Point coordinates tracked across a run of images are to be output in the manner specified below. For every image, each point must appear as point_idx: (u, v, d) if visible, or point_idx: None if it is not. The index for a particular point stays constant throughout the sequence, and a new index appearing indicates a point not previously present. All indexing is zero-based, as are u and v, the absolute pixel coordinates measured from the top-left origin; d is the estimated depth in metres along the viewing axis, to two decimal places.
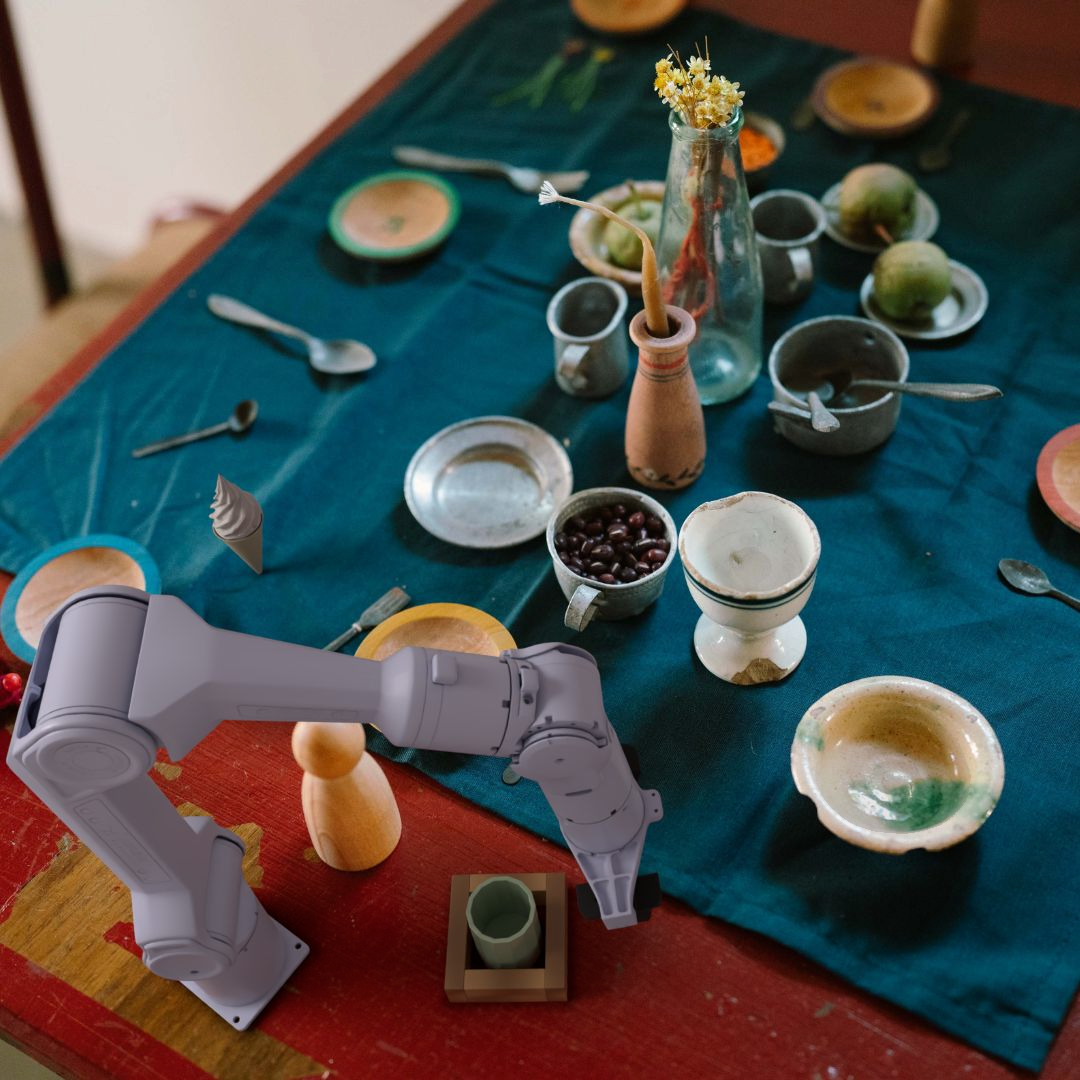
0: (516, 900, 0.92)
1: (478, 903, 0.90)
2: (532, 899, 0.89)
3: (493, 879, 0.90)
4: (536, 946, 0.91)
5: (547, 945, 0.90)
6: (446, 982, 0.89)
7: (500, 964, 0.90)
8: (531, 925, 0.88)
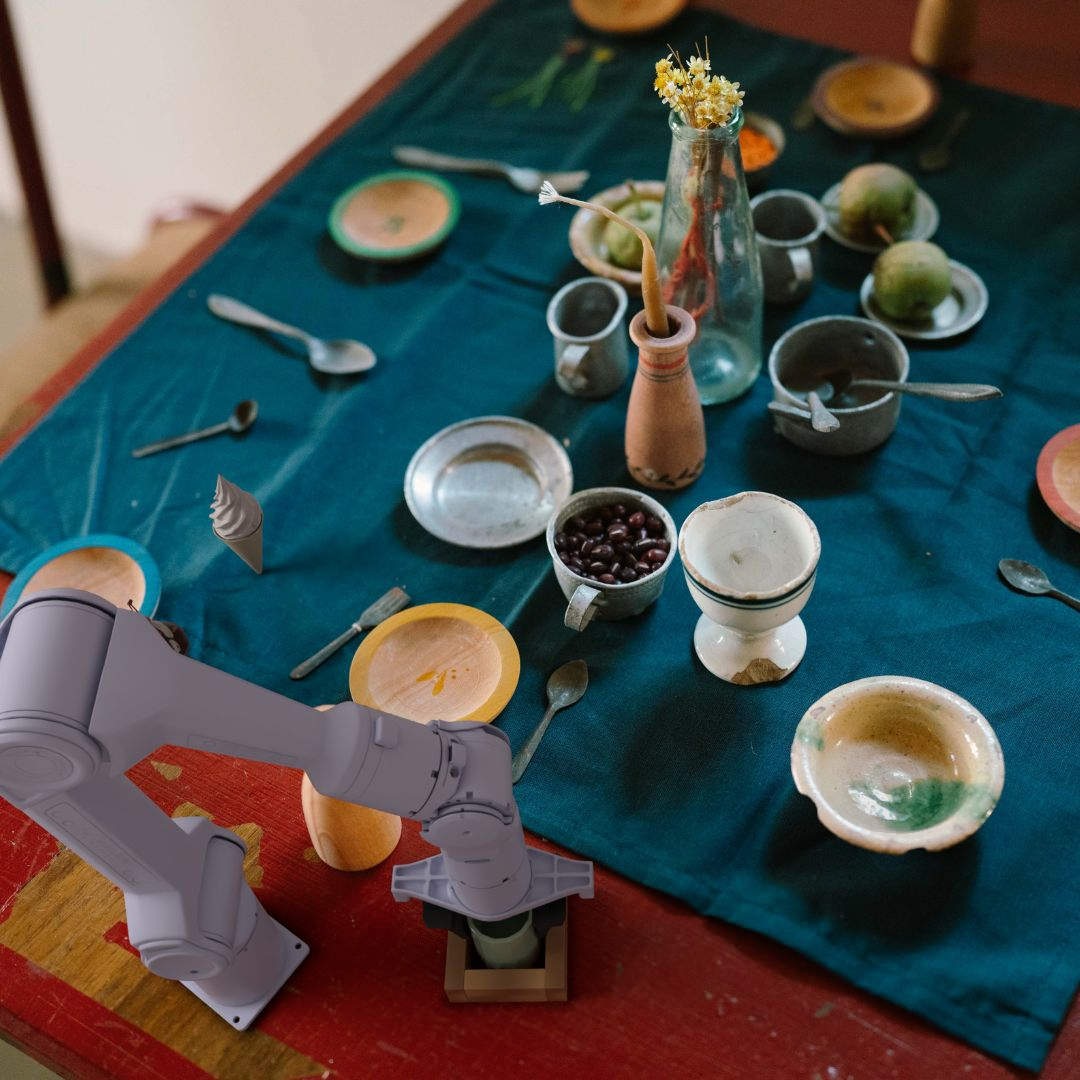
0: None
1: None
2: None
3: None
4: (535, 946, 0.91)
5: (547, 945, 0.90)
6: (446, 982, 0.89)
7: (499, 964, 0.90)
8: (530, 925, 0.88)
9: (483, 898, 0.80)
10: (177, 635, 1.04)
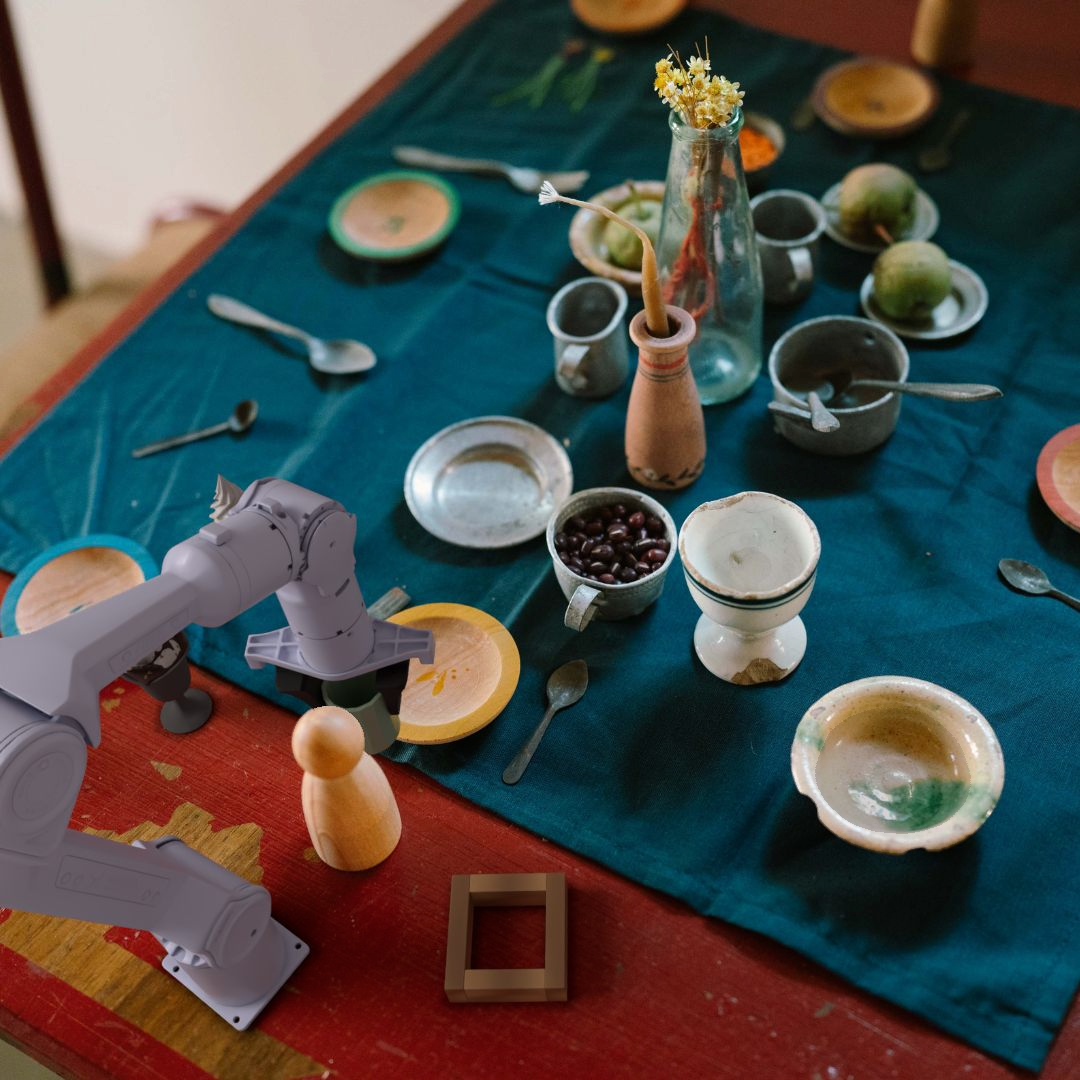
0: (374, 685, 0.98)
1: (336, 683, 0.97)
2: None
3: None
4: (390, 725, 0.97)
5: (547, 945, 0.90)
6: (446, 982, 0.89)
7: None
8: (381, 697, 0.94)
9: (322, 653, 0.86)
10: (177, 635, 1.04)
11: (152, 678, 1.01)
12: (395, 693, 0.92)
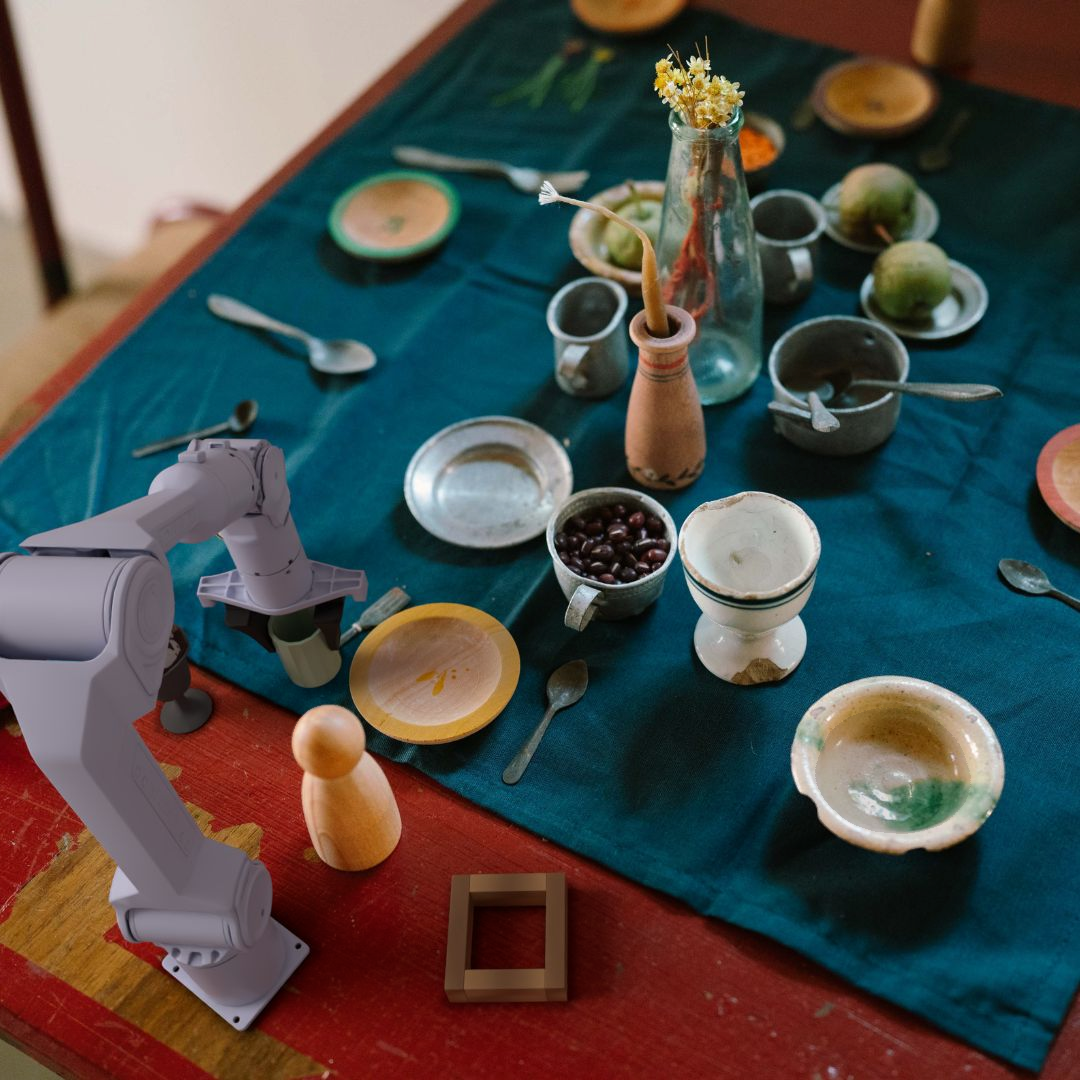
0: None
1: (281, 622, 1.07)
2: None
3: None
4: (331, 659, 1.08)
5: (547, 945, 0.90)
6: (446, 982, 0.89)
7: (299, 672, 1.07)
8: (320, 633, 1.05)
9: (264, 589, 0.97)
10: (177, 635, 1.04)
11: None
12: (332, 628, 1.03)
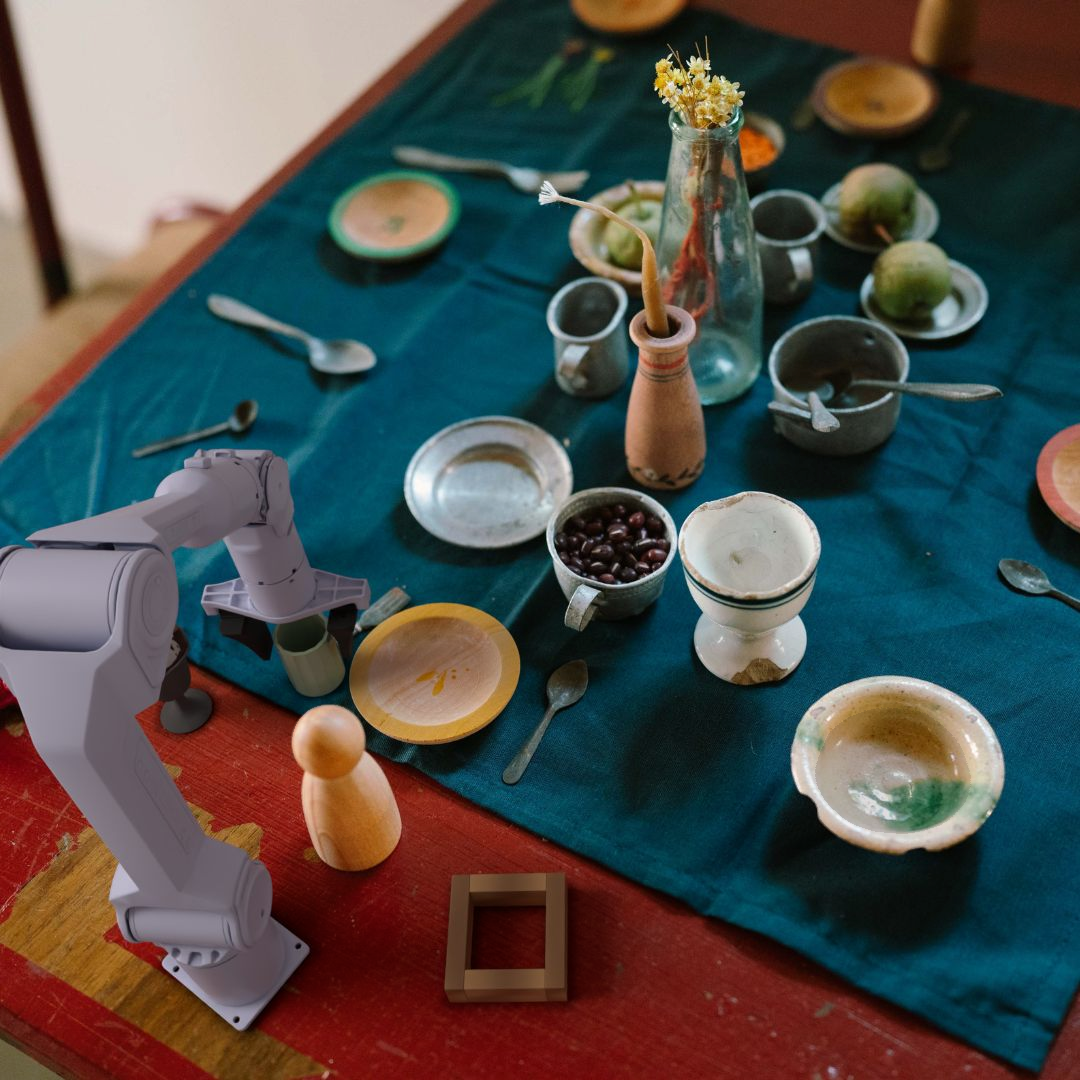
0: (321, 634, 1.11)
1: (286, 632, 1.09)
2: None
3: None
4: (335, 669, 1.09)
5: (547, 945, 0.90)
6: (446, 982, 0.89)
7: (303, 681, 1.08)
8: (325, 643, 1.06)
9: (268, 597, 0.98)
10: (177, 635, 1.04)
11: None
12: (346, 636, 1.03)
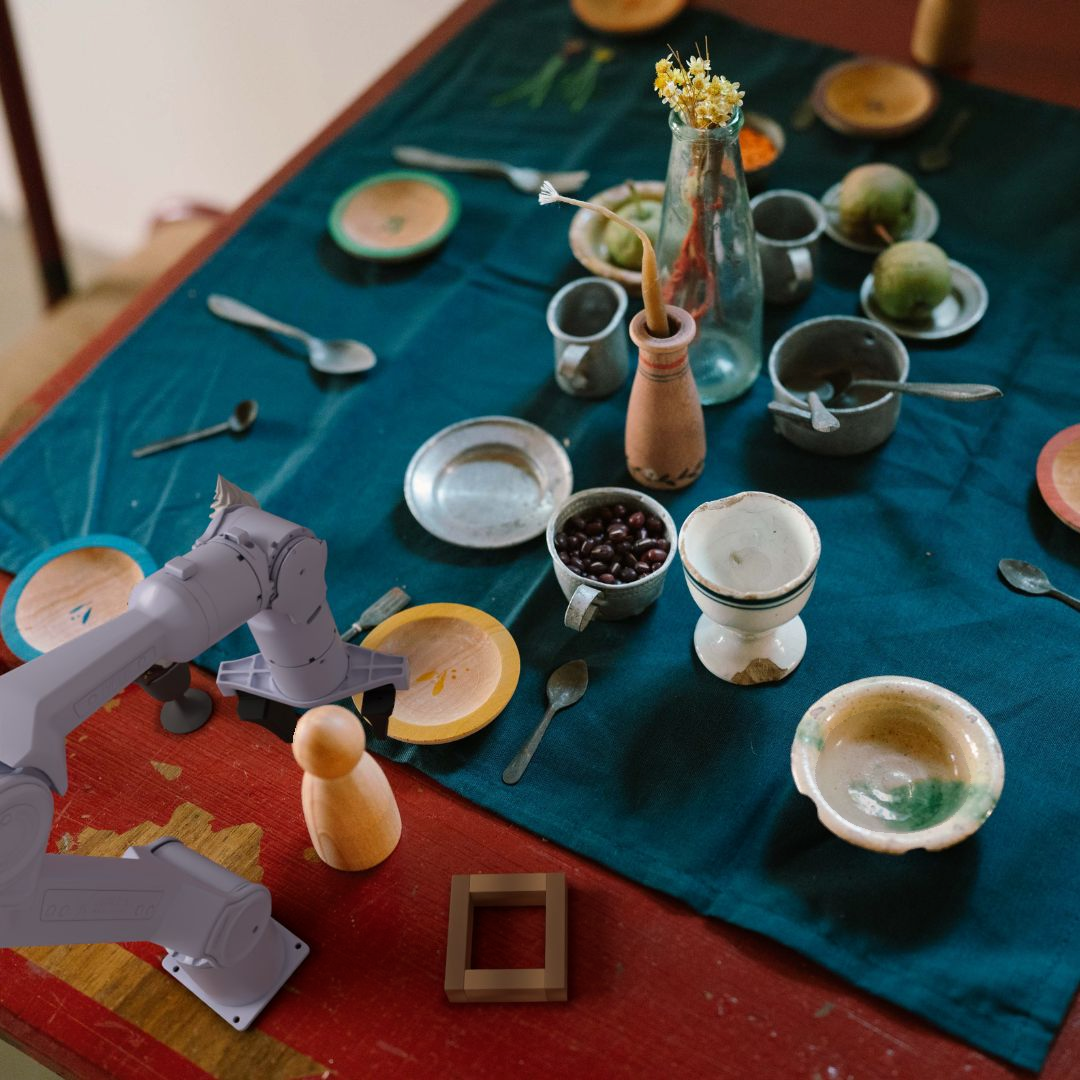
0: None
1: None
2: None
3: None
4: None
5: (547, 945, 0.90)
6: (446, 982, 0.89)
7: None
8: None
9: (295, 680, 0.85)
10: None
11: (152, 678, 1.01)
12: (382, 719, 0.90)
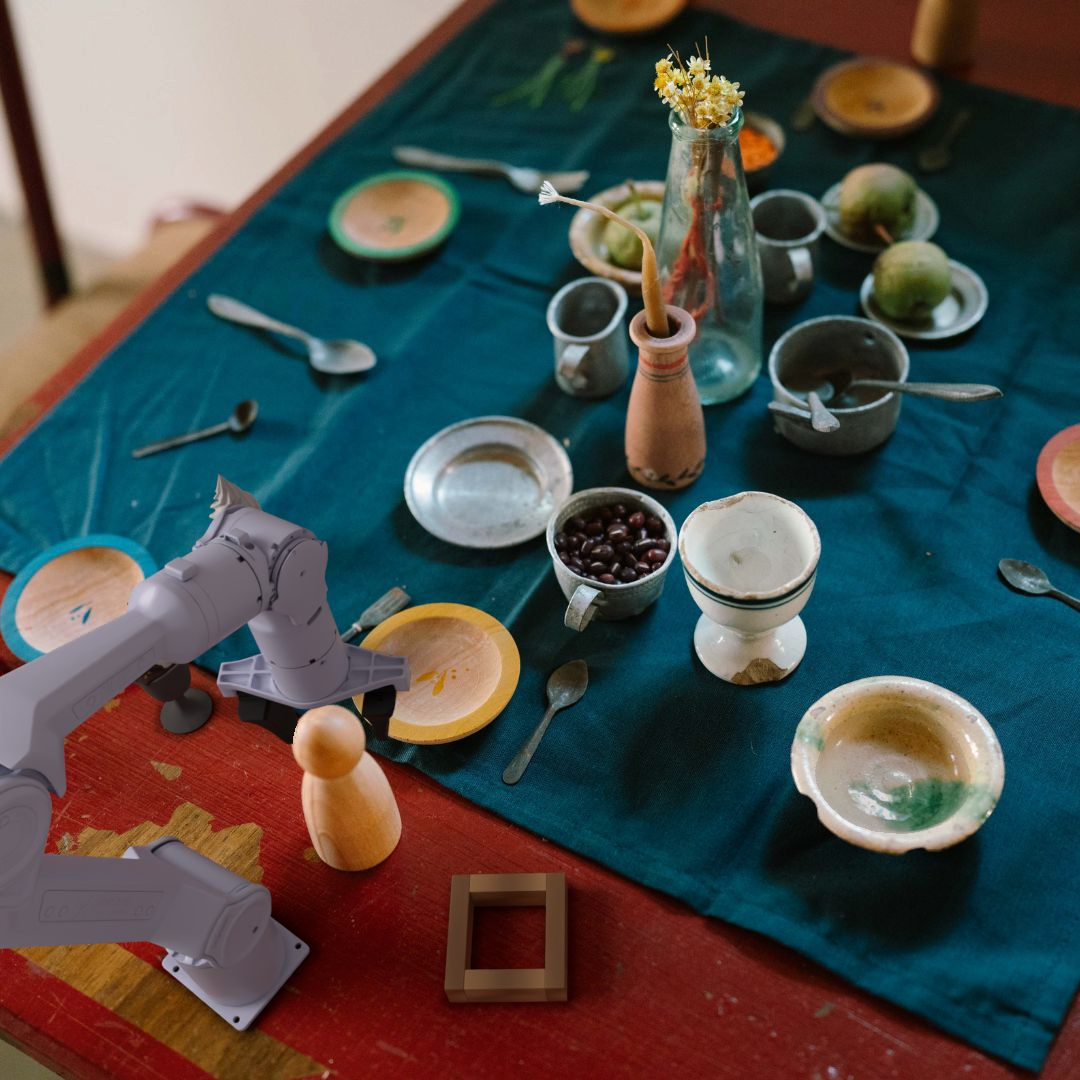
0: None
1: None
2: None
3: None
4: None
5: (547, 945, 0.90)
6: (446, 982, 0.89)
7: None
8: None
9: (295, 681, 0.85)
10: None
11: (152, 678, 1.01)
12: (382, 720, 0.90)
